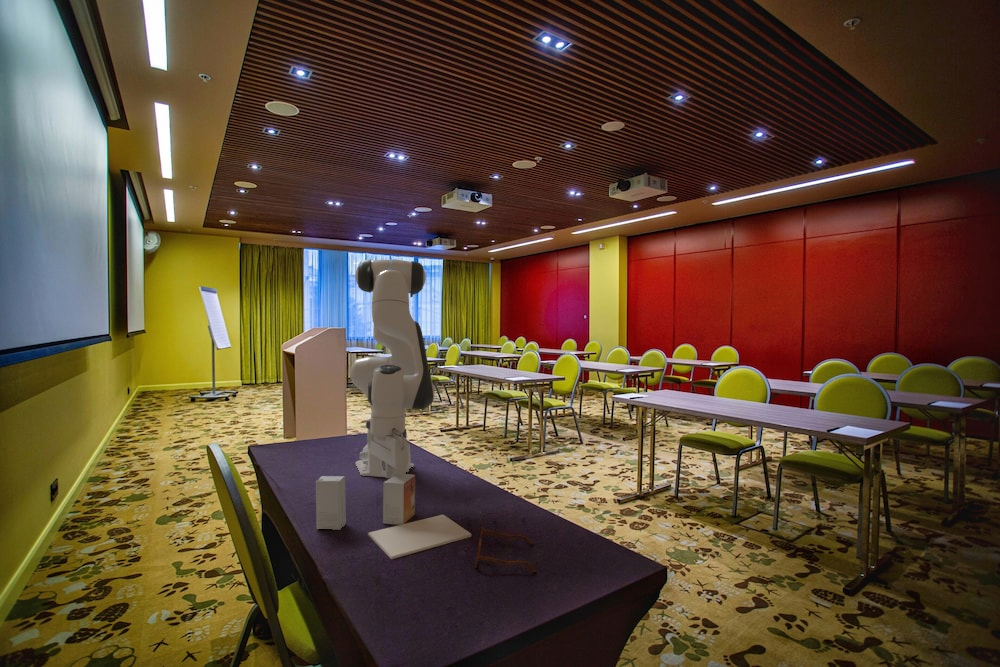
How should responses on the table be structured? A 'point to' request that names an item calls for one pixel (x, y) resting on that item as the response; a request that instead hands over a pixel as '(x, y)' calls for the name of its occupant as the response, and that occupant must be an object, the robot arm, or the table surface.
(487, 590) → the table surface
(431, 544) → the felt mat
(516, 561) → the glasses
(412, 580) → the table surface
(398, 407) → the robot arm
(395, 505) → the small box
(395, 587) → the table surface
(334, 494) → the skincare box
